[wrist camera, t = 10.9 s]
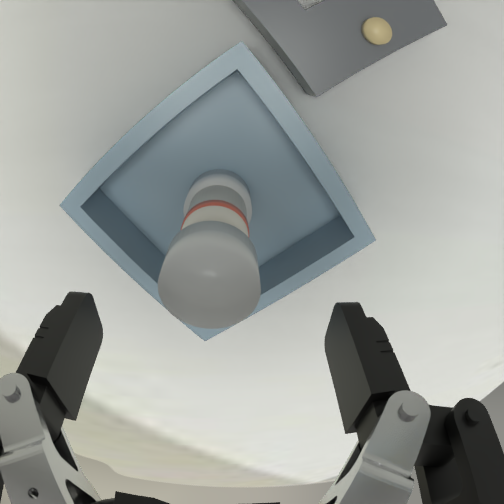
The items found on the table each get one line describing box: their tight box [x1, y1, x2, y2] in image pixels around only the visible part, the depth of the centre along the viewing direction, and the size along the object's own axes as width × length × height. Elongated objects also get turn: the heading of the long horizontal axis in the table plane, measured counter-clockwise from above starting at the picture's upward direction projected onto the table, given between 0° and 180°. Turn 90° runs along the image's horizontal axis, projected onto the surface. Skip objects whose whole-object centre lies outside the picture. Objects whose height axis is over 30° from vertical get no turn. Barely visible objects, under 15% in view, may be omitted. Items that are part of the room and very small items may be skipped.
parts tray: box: [60, 41, 376, 341], centre depth 18 cm, size 13×13×4 cm
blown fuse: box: [158, 169, 261, 329], centre depth 15 cm, size 4×4×9 cm
